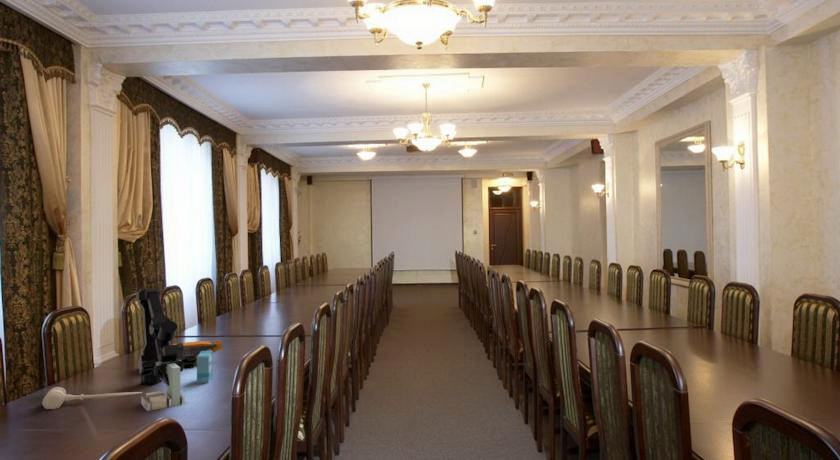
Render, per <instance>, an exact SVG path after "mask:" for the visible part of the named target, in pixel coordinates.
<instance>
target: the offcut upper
mask: <svg viewBox="0 0 840 460" xmlns="http://www.w3.org/2000/svg"><path fill="white" fill-rule="evenodd" d="M164 393H165V392H163V391H162V390H160V391H159V390H158V391H153V392H148V393H146V394H145V395H146V396H145V398H146V399H147V400H148V401H149V402H150V403H151V404H155V403H160V402H165V401H167V396H166V395H165V394H166V393H165V394H164Z"/></svg>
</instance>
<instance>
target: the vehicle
mask: <svg viewBox="0 0 840 460" xmlns="http://www.w3.org/2000/svg"><path fill="white" fill-rule="evenodd" d="M173 345H177V343H173ZM183 346H184V350H183V352H179V354H178V358H176V360H183V359H184V356H185V355H193V354H194V355H196V357H197V356H198V355H199V354H200V352H201V351H213V354H214V353H216V352H218V351H220V350H223V348H225V347H224V345H223V343H222V341H219V339H217V340H215V341H205V340H204V341H202V340H200V341H199V340H197V341H189V342H187V341H186V342H183ZM196 364H197V361H196ZM166 372H167V368H166Z"/></svg>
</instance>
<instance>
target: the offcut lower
mask: <svg viewBox="0 0 840 460" xmlns="http://www.w3.org/2000/svg"><path fill="white" fill-rule="evenodd" d="M166 406H167V401H165V402H160V403H155V404H151V403H150V408H151V409H156V408H161V407H166ZM166 408H167V407H166ZM161 409H162V408H161ZM156 410H157V409H156Z"/></svg>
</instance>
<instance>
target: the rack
mask: <svg viewBox="0 0 840 460" xmlns="http://www.w3.org/2000/svg"><path fill="white" fill-rule="evenodd" d="M163 393H164V394H165V395H166V396H167V406H166V407H161V408H156V409H151V408H150V402H149V401H148V400H147V399H146V396H144V395H143V396H141V404H140V405H141V406H142V407H143V408H144V409H145V410H146V412H150V411H155V410H160V409H166V408H171V407H175V406H181V405H182V406H183V405H186V404H188V402H187V401H186V400H185V398H186V397H185V395H183V394H182V393H181V392H180V404H177V405H172V399H171V398H170V397H169V396H168V395H167V393H166V392H163Z"/></svg>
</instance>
